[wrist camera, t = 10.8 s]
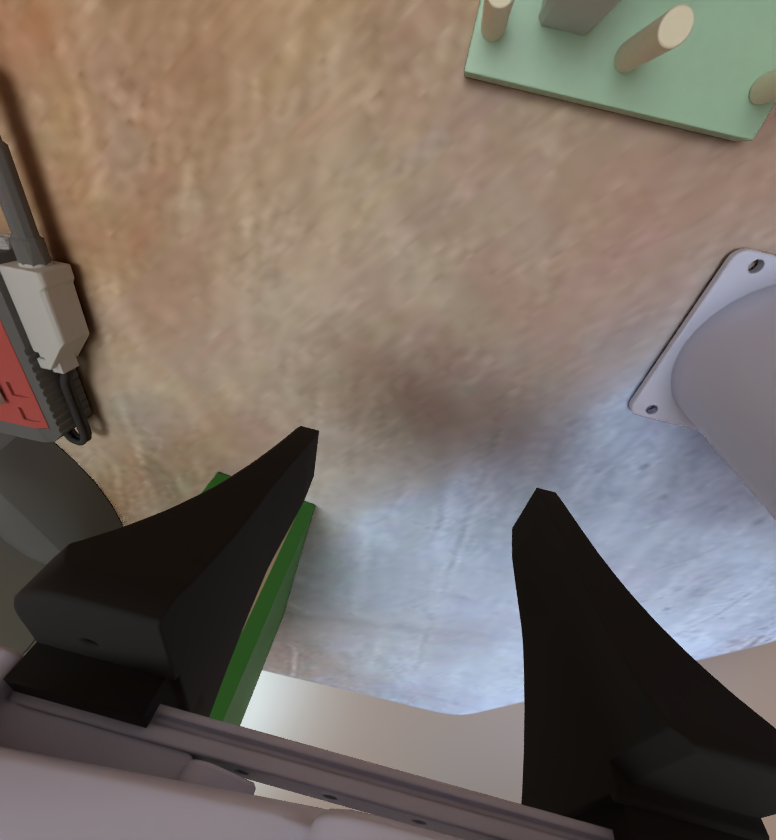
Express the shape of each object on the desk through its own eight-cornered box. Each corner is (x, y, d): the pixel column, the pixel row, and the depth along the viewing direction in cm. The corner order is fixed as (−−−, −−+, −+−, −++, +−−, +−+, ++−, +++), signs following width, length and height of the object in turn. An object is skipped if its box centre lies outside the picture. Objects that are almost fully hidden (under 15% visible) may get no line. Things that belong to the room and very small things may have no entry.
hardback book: (217, 471, 28) (-357, 1207, 8) (315, 505, 28) (-21, 1290, 9) (210, 594, 38) (-57, 1056, 19) (282, 617, 38) (93, 1096, 19)
